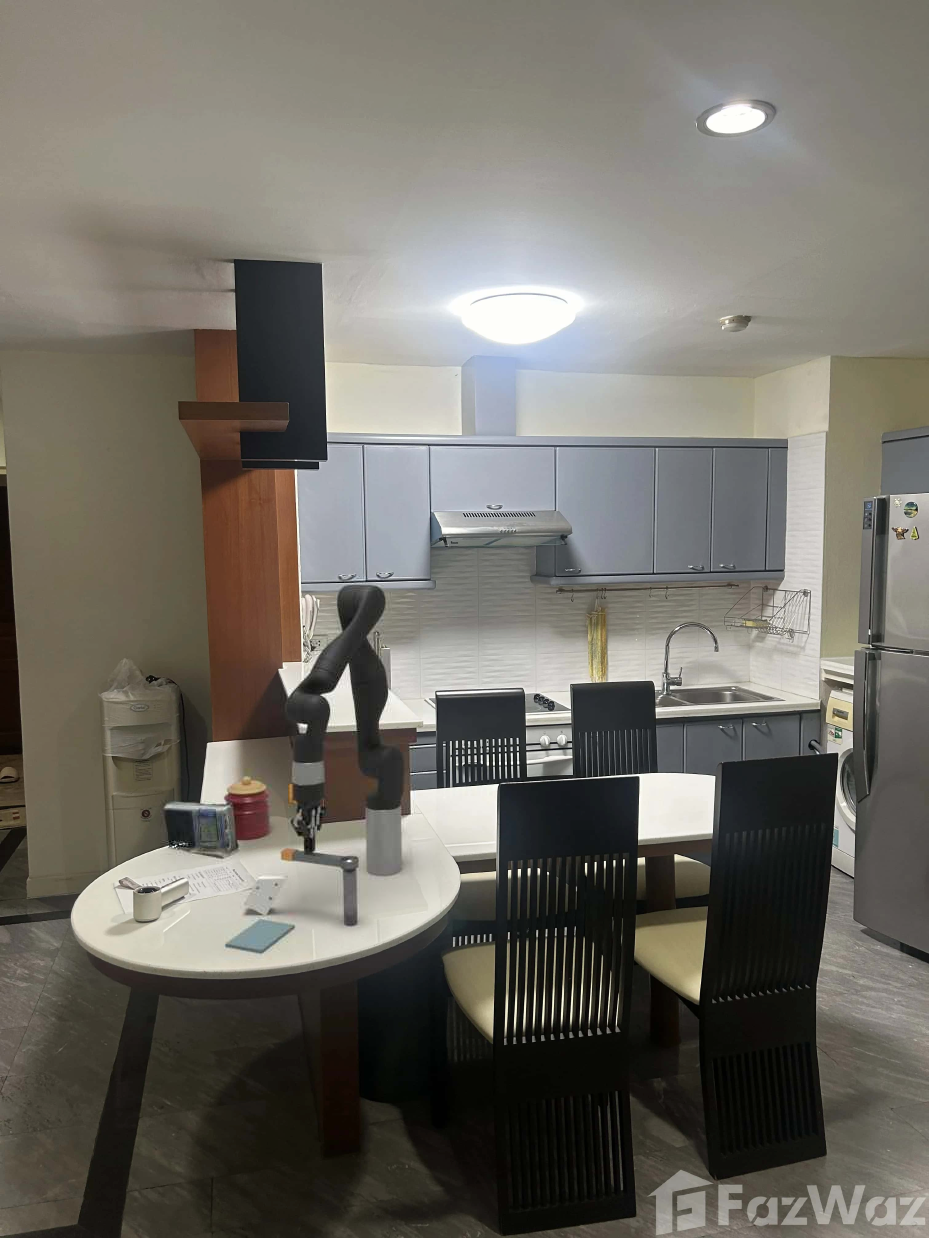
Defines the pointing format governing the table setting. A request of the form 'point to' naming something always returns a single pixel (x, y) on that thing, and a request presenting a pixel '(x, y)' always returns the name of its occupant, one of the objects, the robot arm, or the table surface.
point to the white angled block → (264, 893)
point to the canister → (249, 809)
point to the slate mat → (260, 936)
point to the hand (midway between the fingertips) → (309, 851)
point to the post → (350, 897)
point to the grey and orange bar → (320, 858)
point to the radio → (201, 828)
